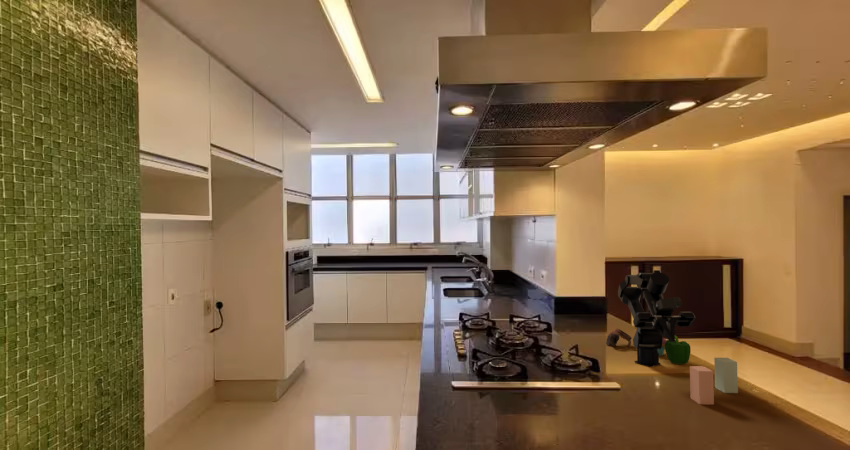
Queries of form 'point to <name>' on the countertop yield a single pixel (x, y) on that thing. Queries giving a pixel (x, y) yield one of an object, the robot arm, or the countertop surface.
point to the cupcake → (662, 347)
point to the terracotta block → (701, 385)
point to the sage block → (726, 375)
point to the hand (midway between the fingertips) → (673, 341)
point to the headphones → (617, 337)
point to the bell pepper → (677, 351)
